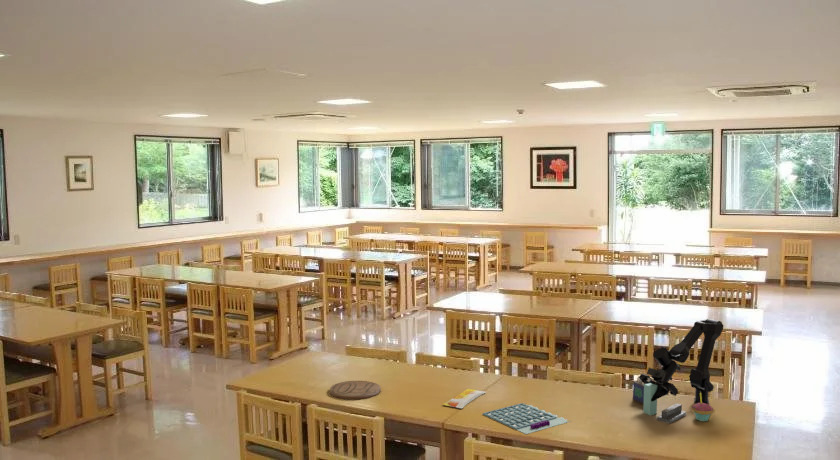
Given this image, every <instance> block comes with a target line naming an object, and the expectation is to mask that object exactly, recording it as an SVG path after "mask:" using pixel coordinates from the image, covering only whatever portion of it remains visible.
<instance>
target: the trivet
mask: <svg viewBox="0 0 840 460" xmlns="http://www.w3.org/2000/svg"><path fill="white" fill-rule="evenodd" d="M381 389H382V387H381V386H380V384H378V383H377V382H373V381H368V380H348V381H346V380H345V381H341V382H338V383H335V384H333V385H331V386H330V387H329V394H330V396H332V397H334V398H336V399H339V400H340V399H342V400H349V401H352V400H353V401H358V400H359V401H360V400H367V399H370V398H374V397H376V396H378V395H380V394H381Z"/></svg>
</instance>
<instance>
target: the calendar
mask: <svg viewBox="0 0 840 460" xmlns="http://www.w3.org/2000/svg"><path fill="white" fill-rule="evenodd" d="M482 415H483V416H485V417H487V418H490V419H492V420H494V421H496V422H498V423H500V424H503V425H505V426H507V427H509V428H511V429H513V430H516V431H518V432H521V433H523V434H524V435H529V434H533V433H536V432H540V431H542V430H546V429H550V428H554V427H556V426H560V425H563V424H567V423H570V422H572V420H571V421H568V419H567V418H566V419H565V418H564V417H563V416H562V417H561V416H560V417H559V415H557V414H553V413H551V412H550V411H548V412H546V410H544V409H539V408H538V407H537V406H533V405H532V404H527V402H526V403H523V402H521V403H518V404H513V405H510V406H505V407H502V408H498V409H492V410H490V411H486V412H483V413H482Z"/></svg>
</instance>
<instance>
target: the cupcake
mask: <svg viewBox="0 0 840 460" xmlns="http://www.w3.org/2000/svg"><path fill="white" fill-rule="evenodd" d="M692 411H693V413H694V415H695V419H696V421H697V420H698V421H700V422H708V421H709V418H710V416H711V415H712V414H714V411H715V410H714V407H712V405H710V403H709V404H705V403H702V396H701V392H700V403H694V404H693V405H692Z"/></svg>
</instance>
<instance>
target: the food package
mask: <svg viewBox="0 0 840 460" xmlns="http://www.w3.org/2000/svg"><path fill="white" fill-rule="evenodd" d="M486 393H487V392H486V391H483V390H477V389H471V388H467V389H465V390H463V391H462V392H461V393H459V394H458V395H455V396H453V398H450V399H449V400H448V401H446V402H444V403H443V404H442V406H448V407H453V408H457V409H463V408H464V407H466V406H467V405H468V404H469V403H471V402H472V401H474V400H476V399H477V398H479V397H480V396H482V395H484V394H486Z"/></svg>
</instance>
